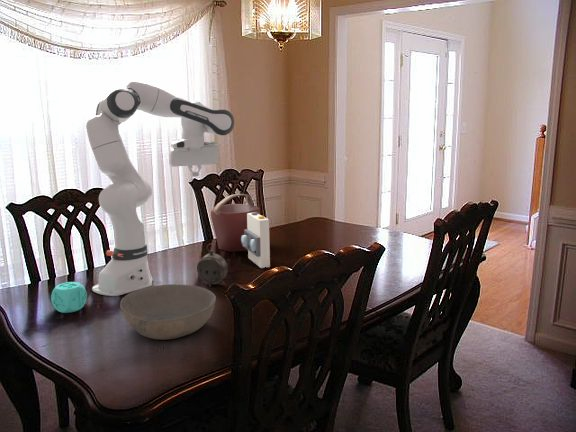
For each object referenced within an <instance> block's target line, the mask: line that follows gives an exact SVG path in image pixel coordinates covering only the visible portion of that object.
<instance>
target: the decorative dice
mask: <svg viewBox="0 0 576 432" xmlns="http://www.w3.org/2000/svg"><path fill="white" fill-rule="evenodd" d="M50 299H51V304H52V306H53V308H54V309H55V310H56V311H57V312H60V313H63V314H68V313H74V312H78V311H80V310H82V309H83V308H84V306H85V305H86V303H87V299H88V294H87V290H86V288H85V286H84V285H83V284H81V283H80V282H78V281H67V282H63V283H62V282H61V283H59V284H57V285H56V286H55V287H54V288H53V289H52V292H51V295H50Z"/></svg>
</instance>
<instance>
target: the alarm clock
mask: <svg viewBox="0 0 576 432" xmlns="http://www.w3.org/2000/svg"><path fill="white" fill-rule="evenodd" d="M210 245H212V246H213V247H214V249H213V250H210V249H209V248H208V246H210ZM206 250H207V251H208V252H209V253H207V254H205V255H204V256H203V257H202V258H200V259H199V260H198V263H197V265H196V272H197V275H198V277H199V278H200V280H202V283H201V284H204V283H206V284H209V285H208V288H211V287H212V285H216V284H218V283H221V285H222V286H225V285H226V284H225V283H224V281H223V280H224V279H225V278H226V276H227V275H228V271H229V270H228V269H229V268H228V263H227V261H226V260H225V258H224V257H223V256H222V255H220V254H218V253H214V252H215V251H216V245H215V244H213V243H209V244H207V246H206Z"/></svg>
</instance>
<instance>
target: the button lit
mask: <svg viewBox="0 0 576 432" xmlns="http://www.w3.org/2000/svg"><path fill="white" fill-rule="evenodd" d="M250 246H251V250H252V251H256V239H251V241H250Z"/></svg>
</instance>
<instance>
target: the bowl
mask: <svg viewBox="0 0 576 432" xmlns="http://www.w3.org/2000/svg"><path fill="white" fill-rule="evenodd" d="M216 301H217V296H216V294H215V293H214V292H212V291H211V290H209V289H208V288H205V287H202V286H197V285H191V284H176V283H175V284H172V283H171V284H159V285H152V286H149V287H145V288H142V289H139V290H135V291H132V292H129V293H127V294H125V296H124V297H122V298H121V300H120V303H119V308H120V311H121V314H122V315H123V318H124V319H125V321H126V323H127V324H128V325H129V326H130V327H131V328H132V330H134V331H135V332H136V333H138V334H139V335H141V336H143V337H144V338H148V339H153V340H160V341H161V340H162V341H165V340H174V339H178V338H181V337H184V336H188V335H191V334H193V333H196V331H199V330H200V329H201V328H202V327H203V326H204V325H205V324H207V322H208V321H209V319H210V318H211V316H212V315H213V314H212V313H213V311H214V309H215V306H216Z"/></svg>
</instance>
